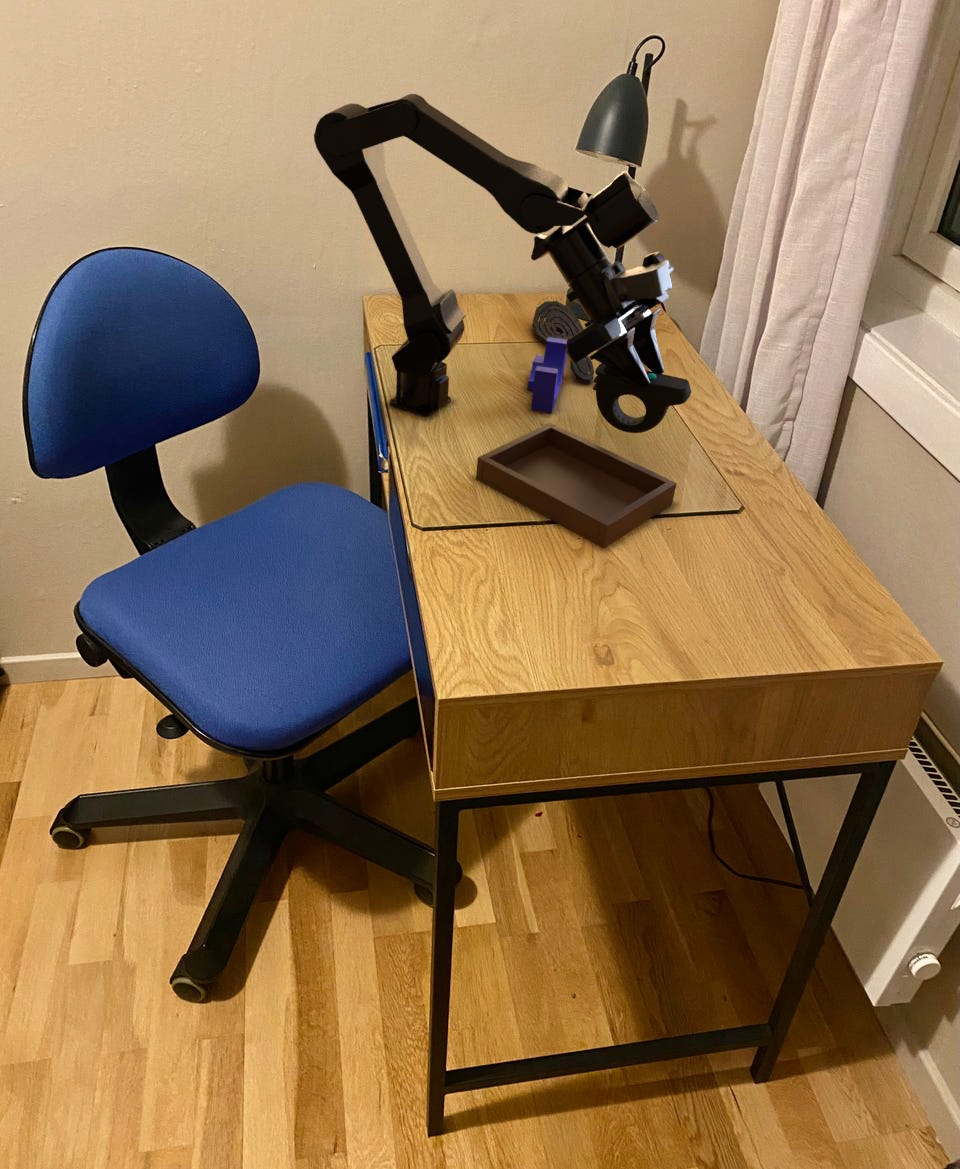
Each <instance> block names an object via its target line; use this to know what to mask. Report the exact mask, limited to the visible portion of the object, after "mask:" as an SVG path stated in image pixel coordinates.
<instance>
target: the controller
mask: <svg viewBox="0 0 960 1169" xmlns="http://www.w3.org/2000/svg"><path fill="white" fill-rule="evenodd" d="M644 369H645V371H646V373H647V376H648V378H649V381H650V385H649V386H647V387H645V388H642V387H640V386H638V385H637V384H635V383H634V382H632V381H631V380H629V379H628V378H626V377H624V376H623V375H621V374H620V373H618V372H616V371H615V370H613V369H611V368H610V367H608V366H606V365H604V364H602V363H601V362H600V363H599V364H598V366H597V367H596V368H595V369H594V374H595V375H596V376H595V377H593V380H592V382H593V383H594V385H593V387H592V390H593V391H595V399H596V405H597V408H598V410H599V412H600V414H601V415H602V416H601V417H603V419H604V420H605V421H606V422H607V423H608V424H610V426H612V427H613V428H615V429H617V430H618V431H621V432H625V433H630V434H641V433H645V432H648V431H650V430H652V429H654V428H655V427H656V426H658V425H659V424H660V423H661V422H662V421H663V419H664V418H665V417H666V414H667V412H668V410H669V408H670V407H672V406H673V407H674V406H681V405H684V404H685V403H687V401H688V400H689V399H690V396H691V394H692V389H691V384H690V382H689V380H688V379H686V378H682V377H677V376H674V375H669V374H664V373H662V374H660V373H656V372H652V371H651V370H647V369H646V368H644ZM622 396H633V397H636V399H639V401H641V403H642V404H643V405H644V408H645V414H644V415H642V416H640V417H635V416H630V415H628V414H627V413H625V412H624V411H623V409H622V408H621V406H620V402H619V401H620V400H619V399H620V398H621V397H622Z"/></svg>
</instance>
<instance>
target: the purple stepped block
mask: <svg viewBox="0 0 960 1169" xmlns="http://www.w3.org/2000/svg"><path fill="white" fill-rule="evenodd" d="M566 343H567V340H565V339H558V338H551V337H548V338H547V341H546V345H545V348H544V349H545V350H544V355H540V354H535V356H534V358H533V360H532V365H531V370H530V374H529V378H528V380H527V391H529V392H530V391H531V392H532V397H531V406H530V410H531V411H535V412H541V413H548V414H549V413H550V414H553V411H554V408H555V405H556V402H557V398H558V395H559V392H560V389H561V385H562V382H563V380H564V374H565V366H566V359H567V353H566V351H565V350H566Z"/></svg>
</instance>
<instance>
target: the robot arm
mask: <svg viewBox="0 0 960 1169" xmlns="http://www.w3.org/2000/svg"><path fill="white" fill-rule="evenodd" d="M403 137H405V138H407V139H409V140H410V141H411V142H413V143H414V144H416V145H417V146H419V147H420V148H422V149H424V150H425V151H426V152H428V153H430V154H431V155H432V156H434V157H435V158H437V159H439V160H440V161H442V162H443V163H445V164H446V165H448V166H449V167H451V168H452V169H454V170H455V171H457V172H458V173H460V174H462V175H463V176H465V177H466V178H467V179H468V180H471V181H472V182H474V183H475V184H477V185H478V186H480V187H481V188H483V189H484V190H486V192H488V193H489V194H490V195H491V196H492V197H493V198H494V200H495V202H497V204H498V205H499V207H500V208H501V209H502V211H503V212H504V213H505V214H506V215H507V216H509V218H510V219H511V220H512V221H514V222H515V223H516V225H518V226H519V227H520V228H521V229H523V230H524V231H525V232H528V233H530V234H533V235H535V236H534V237H533V242H534V243H533V248H532V252H531V255H530V259H531V260H532V261H537V260H539V259H541V258H544V257H545V256H547V255H548V256H550V258H551V260H552V261H553V263H554V264H555V266H556V268H557V269H558V271H559V272H560V274H561V276H562V277H563V279H564V281H565V283H566V284H567V286H568V287H569V290H570V291H571V292H569V293H568V294H567V295H566V298H567V299H568V301H569V303H573V302H574V301H577V302H578V303H579V304H578V305H580V307H581V308H582V310H583V312H584V314H585V315H586V316H587V319H588V321H586V323H584V328H583V330H582V331H580V332H579V333H577V334H576V335H574V336H573V337H572V338H570V339H569V340H567V343H566V350H565V351H566V355H567V356H568V358H569V360H570V359H571V361H572V362H573V364H575V363H577V362H578V361H580V360H581V359H583V358H584V357H586V356H588V357H589V358H590V360H591V361H593V360H595V361H597V362H599V363H600V364H601V363H602V364H604V365H606V366H608V367H610V368H611V369H613V370H615V371H616V372H618V373H620V374H621V375H623V376H624V377H626V378H628V379H629V380H631V381H632V382H634V383H635V384H637V385H638V386H640V387H642V388H645V387H647V386H649V385H650V381H649V378H648V376H647V373H646V371H645V369H646V368H647V369H648V370H649V371H651V372H656V373H660V374H664V373H665V367H664V363H663V359H662V356H661V352H660V348H659V347H660V346H659V343H658V339H657V335H656V334H657V333H656V323H657V320H658V317H659V314H661V307H659V308H657V309H656V310H654V311H652V312H651V310H652V309H653V308H655V307H656V306H657V305H660V304H662V303H663V302H665V301H666V300H667V299H669V298H670V295H669V294H668V292H667V290H672V289H673V285H672V280H671V275H672V273H674V265H673V266H672V265H671V264H670V262H669V259H666V257H665V256H664V255H663V253H662V252H661V251H656V252H651V253H649V254H647V255H645V256H644V257H643V261H642V265H638V266H636V267H634V268H630V269H626V268H625V266H624V264H623V263H622V262H620V261H619V260H616V261H615V262H613V263H612V262H611V260H610V258H609V257H608V256H607V254H606V252H605V251H604V249H603V247H605V248H607V249H610V248H611V247H613V248H614V249H617V250H619V249H620V248H622V247H624V245H627V243H629V242H630V241H632V240H633V239H635V238H636V237H637V236H639V235H641V233H642V234H643V232H645V231H646V230H647V229H650V227H652V226H653V225H655V224H656V223H657V222H659V220H660V217H659V212H658V208H657V207H656V205H655V202H654V200H653V199H652V197H651V195H650V194H649V192H648V190H647V189H646V188H644V187H642V185H641V184H640V183H639V182H638V181H636V180H635V179H634V178H632V177H631V176H630V174H629V172H628V171H627V170H623V171H622V172H621V173H619V174H618V175H617V176H616V177H615V178H614V179H613V180H612V181H611V182H610V183H609V184H607V185H606V186H605V187H604V188H602V189H601V190H599V191H598V192H597V193H593V192H589V191H586V190H584V189H580V188H577V187H575V186H572V185H568V183H567V182H566V180H565V179H564V178H563V177H561V175H559V174H557V173H555V172H553V171H551V170H549V169H546V168H544V167H542V166H540V165H537V164H534V163H531V162H527V161H523V160H521V159H520V160H519V159H515V158H513V157H511V156H510V155H507V154H505V153H504V152H502V151H501V150H500V149H497V148H496V147H494V146H493V145H491V144H490V143H488V142H487V141H486V140H484V139H482V138H481V137H480V136H478V135H477V134H475V133H473V132H472V131H470V130H469V129H467V128H466V127H465V126H463V125H462V124H460V123H458V122H457V121H455V120H454V119H452V118H451V117H450V116H448V115H446V114H445V113H444V112H442V111H440V110H439V109H437V108H436V107H434V106H433V105H432V104H430V103H428V101H427V100H426V99H425V98H424V97H422V95H420V94H417V93H409V94H407V95H404V96H402V97H400V98H398V99H395V100H391V101H386V102H382V103H379V104H375V105H372V106H369V107H365V106H363V105H361V104H359V103H348V104H345V105H342V106H340V107H338V108H336V109H334V110H331V111H330V112H327V113H326V114H324V115H323V116H322V117H320V119H319V120H318V122H317V123H316V126H315V130H314V133H313V141H314V145H315V147H316V150H317V152H318V153H319V155H320V157H321V158H322V160H323V162H324V163H325V164H326V165H327V167H328V169H329V171H330V172H331V173H332V175H333V176H334V177H335V178H336V179H338V181H340V182H341V184H342V185H343V186H345V187H346V188H347V189H348V190H349V191H350V193H351V194H352V196H353V197H354V199H355V201H356V204H357V206H358V208H359V210H360V213H361V215H362V216H363V217H362V218H363V219H364V222H365V223H366V225H367V228H368V230H369V232H370V234H371V236H372V238H373V240H374V243H375V245H376V247H377V249H378V252H379V253H380V256H381V258H382V260H383V262H384V264H385V267H386V269H387V271H388V273H389V275H390V278H391V280H392V282H393V284H394V286H395V288H396V290H397V293H398V295H399V297H400V300H401V308H402V320H403V328H404V332H405V334H406V339H405V341H404V342H403V343H402V344H401V346H399V348H398V349H396V351H395V352H394V354H392V356H391V361H392V364H393V367H394V370H395V372H396V379H395V380H396V382H395V383H396V385H395V386H396V389H395V390H396V392H395V397H393V398H391V399H390V400H389V405H390V406H393V407H396V408H398V409H401V410H404V411H406V412H407V411H408V412H409V413H412V414H416V415H418V416H421V417H425V418H429V417H430V416H432V415H433V414H435V413H436V412H438V411H439V410H441V409H442V408H444V407H445V406H447V405H448V404H449V403H451V402H452V397H451V396H449V388H450V387H449V385H450V377H449V375H447V373H448V371H447V370H448V364H447V363H445V362H443V361H445V360H446V359H447V357H448V356H449V355H450V354H451V353H452V351H453V350H454V349H455V347H456V346H457V344H458V343H459V342H460V341H461V340H462V337H463V335H464V332H465V323H464V319H465V318H466V313H464V311H463V310H462V309H461V307H460V305H459V302H458V299H457V295H456V292H455V290H454V289H452V288H451V289H449V290H448V291H446V292H444V291H443V290H442V289H441V288H440V287H439V286H437V285H436V283H435V282H434V281H433V279H432V277H431V274H430V272H429V270H428V268H427V266H426V263H425V260H424V258H423V256H422V254H421V251H420V249H419V247H418V245H417V243H416V241H415V239H414V236H413V234H412V232H411V229H410V226H409V225H408V222H407V220H406V218H405V215H404V214H403V211H402V209H401V207H400V204H399V202H398V200H397V198H396V197H397V196H396V195H395V193H394V191H393V188H392V186H391V184H390V182H389V179H388V176H387V170H386V159H385V148H384V143H387V142H389V141H393V140H395V139H398V138H403ZM584 216H585V218H584ZM581 219H582V220H581ZM554 227H557V228H556V229H554V230H553V231H552V232H550V233H549V234H547V235H544V234H542V233H547V232H549V231H550V230H552V229H553V228H554ZM601 245H602V246H603V247H602V246H601ZM644 366H645V367H644Z"/></svg>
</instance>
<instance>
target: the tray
mask: <svg viewBox="0 0 960 1169" xmlns="http://www.w3.org/2000/svg"><path fill="white" fill-rule="evenodd" d="M476 460H477V461H476V475H475V480H476V481H479V482H481V483H483V484H484V485H486V486H488V487H490V488H491V489H493V490H495V491H497V492H498V493H501V494H503V495H505V496H506V497H508V498H510V499H512V500H514V501H516V502H517V503H520V504H521V505H523V506H524V507H527V508H528V509H531V511H534V512H536V513H538V514H540V515H542V516H543V517H545V518H547V519H549V520H551V521H552V522H554V523H556V524H558V525H560V526H562V527H563V528H566V529H567V530H569V531H571V532H573V533H574V534H577V535H578V536H580V537H582V538H584V539H586V540H587V541H589V542H591V543H593V544H595V545H597V546H599V547H600V548H602V549H605V548H607V547H609V546H610V545H611V544H613V543H615V542H616V541H618V540H619V539H620V538H621V539H622V537H624V536H625V535H627V534H628V533H631V531H633V530H635V529H636V528H638V527H639V526H641V525H642V524H644V523H646V522H647V521H649V520H650V519H651V518H653V517H655V516H656V515H658V514H660V513H661V512H663V511H664V510H666V509H667V508H669V507H670V506H672V505H673V503H674V498H675V492H676V489H677V482H676V481H674V480H671V479H669V478H667V477H665V476H663V475H661V474H659V473H657V472H655V471H653V470H650V469H649V468H646V467H644V466H642V465H640V464H638V463H636V462H635V461H631V460H630V459H627V458H625V457H623V456H621V455H619V454H617V453H615V452H612V451H610V450H609V449H606V448H604V447H602V446H600V445H598V444H596V443H593V442H591V441H589V440H588V439H585V438H583V437H580V436H579V435H577V434H575V433H573V432H571V431H568V430H566V429H564V428H562V427H560V426H558V425H556V424H554V423H552V422H549V423H546V424H544V425H542V426H540V427H538V428H536V429H533V430H532V431H530V432H527V433H526V434H523V435H521V436H519V437H517V438H515V439H513V440H510V441H509V442H507V443H504V444H503V445H500V446H498V447H496V448H494V449H492V450H490V451H489V452H486V453H484V454H482V455H480V456H477V459H476Z"/></svg>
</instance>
